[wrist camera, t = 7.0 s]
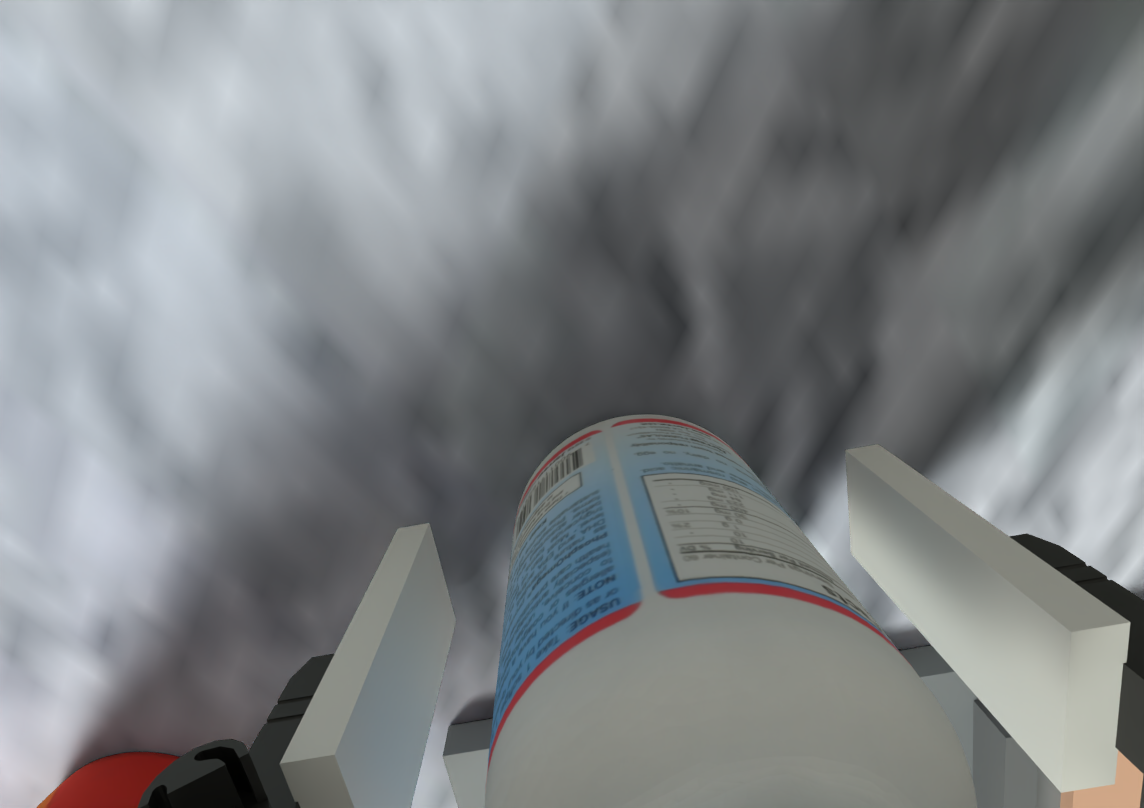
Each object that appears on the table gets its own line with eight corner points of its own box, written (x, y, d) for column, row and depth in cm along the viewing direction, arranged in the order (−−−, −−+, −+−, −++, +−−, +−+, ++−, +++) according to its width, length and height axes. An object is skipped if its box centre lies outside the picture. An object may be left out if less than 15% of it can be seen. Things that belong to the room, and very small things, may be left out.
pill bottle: (573, 661, 16) (607, 1495, 6) (475, 463, 15) (265, 1119, 4) (792, 581, 16) (1283, 1336, 5) (717, 366, 14) (1214, 827, 4)
